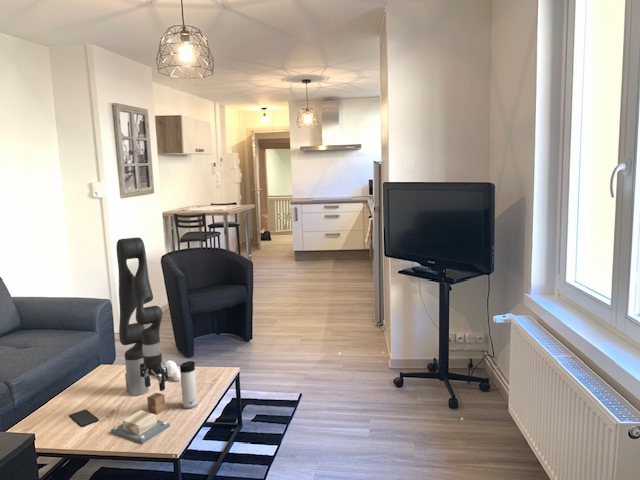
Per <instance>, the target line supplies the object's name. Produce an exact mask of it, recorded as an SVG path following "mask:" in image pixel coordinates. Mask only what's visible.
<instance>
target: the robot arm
mask: <svg viewBox="0 0 640 480" xmlns="http://www.w3.org/2000/svg"><path fill="white" fill-rule="evenodd" d="M115 247H116V259H117V267H118V268H117V269H118V299H119V302H118V303H119V323H118V324H119V326H118V334H119V335H118V336H119V341H120V342H119V343H120V344H121V345H123V346H129V345H133V344H134V345H133V346H132V347H129V349H127V350H126V351H125V352H124V362H125V373H124V378H125V386H126V387H125V388H126V393H128V395H129V396H140V395H145V394H146V393H147V392H149V390H150V389H149V387H150V386H151V378H150V377H151V376H152V377H154V378H155V379H156V380H157V381H158V382H159V383H158V386H159V388H158V389H159V391H160V392H163V391H165V389H166V382H167V381H169V377H168V372H167V367H164V368H163V366H162V365H161V364H162V362H163V357H162V356H163V355H162V354H163V353H162V344H161V337H160V331H161V330H160V329H161V322H162V318H163V311H162V308H161V307H160V306H158V305H151V306H145V307H144V305H145V304H148V303H150V302H153V300H154V296H153V290H152V287H151V283H150V279H149V272H148V271H149V269H148V262H147V253H146V247H145V243H144V241H143V239H142V237H138V236H137V237H127V238H120V239H118V240H117V242H116V246H115ZM135 259H137V261H138V266H137V271H136V273H135V274H133V273H132V271H131V270H130V268H129V266H128V264H127V263H128V260H135ZM134 312H135V321H136V322H135V323H134V322H133V323H130V319H131V317H132V315H133V313H134ZM149 324H151V325H150V326H148V327H146V328H145V325H149Z"/></svg>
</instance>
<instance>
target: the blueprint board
mask: <svg viewBox="0 0 640 480" xmlns="http://www.w3.org/2000/svg"><path fill="white" fill-rule="evenodd" d="M170 427H171V423H168V422H167V421H162V420H160V419H159V420H158V419H157V425H155V426H153V427H152V428H150V429H148V430H147V431H145V432H143V433H142V434H140V435H138V434H135V433H132V432H129V431H126V430H124V429H123V422H122V423H120V424H119V425H117V426H114V427H113V428H112V429H110V433H111V434H113V435H116V436H119V437H122V438H125V439H127V440H131V441H133V442H136V443H140V444H142V445H143V444H144V443H146V442H147V441H149V440H151V439H153V438H154V437H156V436H158V435H159V434H160V433H162V432H164V431H166V429H168V428H170Z"/></svg>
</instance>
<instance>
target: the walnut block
mask: <svg viewBox="0 0 640 480" xmlns="http://www.w3.org/2000/svg"><path fill="white" fill-rule="evenodd" d="M146 400H147V412H148V413H152V414H155V415H156V416H158V415H159V414H160V413H163V412H164V411H166V398H165V394H164V393H163V394H162V393H159V392H154V393H152V394H150V395H149V396H147V397H146Z"/></svg>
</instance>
